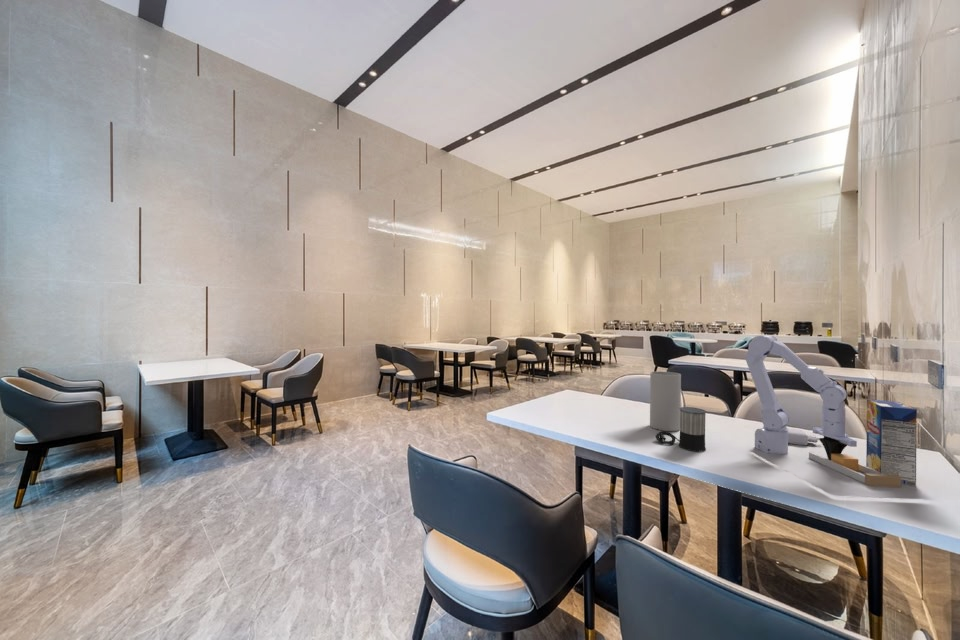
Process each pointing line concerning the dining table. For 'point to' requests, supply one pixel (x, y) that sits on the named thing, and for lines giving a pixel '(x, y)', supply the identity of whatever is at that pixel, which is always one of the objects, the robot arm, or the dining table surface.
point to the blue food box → (892, 439)
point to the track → (861, 473)
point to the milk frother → (688, 430)
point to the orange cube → (845, 461)
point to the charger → (800, 437)
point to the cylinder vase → (665, 400)
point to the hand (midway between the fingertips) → (833, 460)
